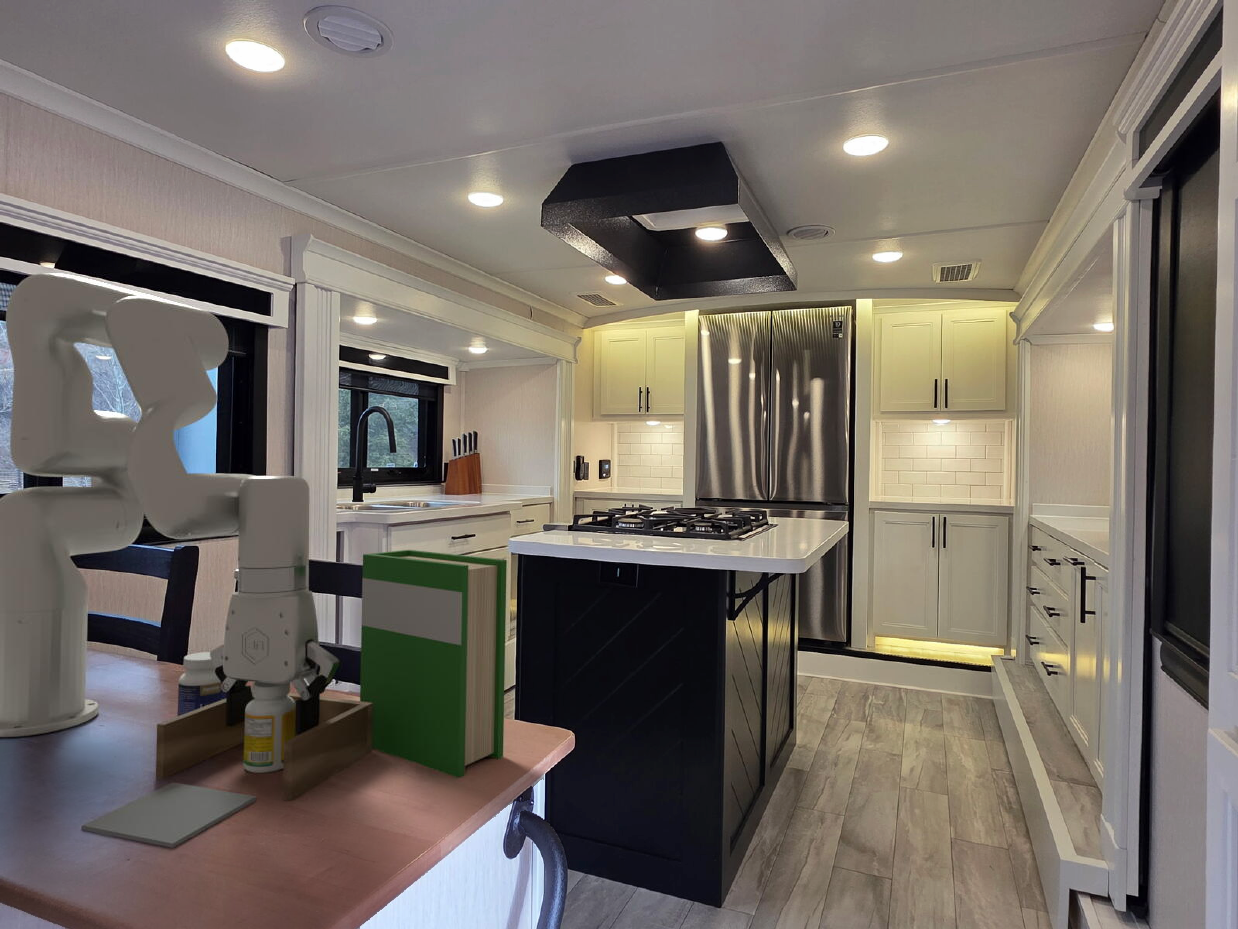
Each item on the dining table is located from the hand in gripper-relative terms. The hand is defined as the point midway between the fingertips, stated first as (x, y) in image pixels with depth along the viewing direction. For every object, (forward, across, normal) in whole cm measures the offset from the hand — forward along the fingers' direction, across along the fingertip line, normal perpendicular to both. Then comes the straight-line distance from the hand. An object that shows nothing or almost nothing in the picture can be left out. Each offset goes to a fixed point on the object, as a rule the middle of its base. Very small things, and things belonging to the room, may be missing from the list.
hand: (272, 726), depth 84 cm
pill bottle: (+4, -16, +6) cm, 18 cm away
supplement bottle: (+5, 0, 0) cm, 5 cm away
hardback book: (+5, +15, +10) cm, 18 cm away
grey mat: (+4, 0, -13) cm, 14 cm away
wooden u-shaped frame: (+4, 0, 0) cm, 4 cm away
